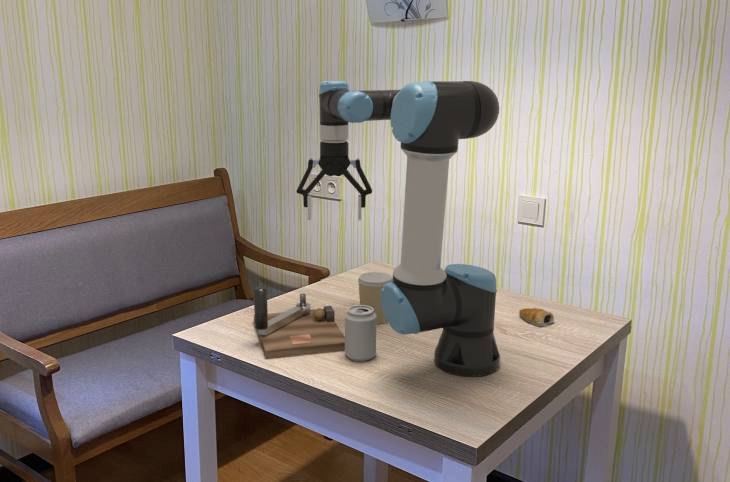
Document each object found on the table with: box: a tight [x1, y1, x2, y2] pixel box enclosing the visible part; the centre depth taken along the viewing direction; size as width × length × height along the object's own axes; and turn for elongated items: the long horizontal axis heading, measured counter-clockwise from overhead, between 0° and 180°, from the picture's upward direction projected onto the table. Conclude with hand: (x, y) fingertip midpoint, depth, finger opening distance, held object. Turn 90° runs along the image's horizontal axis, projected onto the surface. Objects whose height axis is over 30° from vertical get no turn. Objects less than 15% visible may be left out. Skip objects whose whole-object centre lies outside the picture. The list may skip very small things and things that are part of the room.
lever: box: [253, 286, 312, 336], centre depth 182 cm, size 22×4×12 cm, turn 150°
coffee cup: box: [357, 271, 393, 325], centre depth 191 cm, size 9×9×12 cm
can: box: [344, 304, 377, 362], centre depth 168 cm, size 8×8×12 cm
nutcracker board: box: [253, 305, 345, 360], centre depth 181 cm, size 24×20×5 cm
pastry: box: [518, 307, 555, 328], centre depth 192 cm, size 9×7×4 cm
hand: (334, 219), depth 193 cm, fingers open, 13 cm apart
